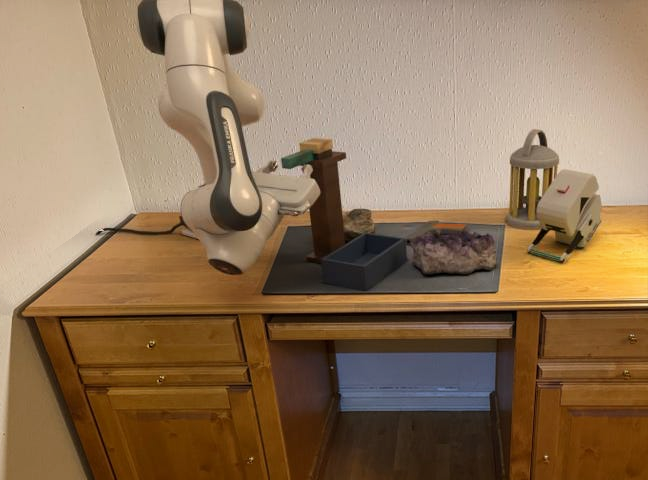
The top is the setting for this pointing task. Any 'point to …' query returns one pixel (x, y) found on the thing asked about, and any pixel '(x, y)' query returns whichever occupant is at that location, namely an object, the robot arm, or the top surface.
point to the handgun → (436, 230)
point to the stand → (326, 207)
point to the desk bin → (364, 261)
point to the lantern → (530, 180)
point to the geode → (454, 253)
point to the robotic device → (569, 212)
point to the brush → (308, 152)
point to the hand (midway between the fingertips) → (291, 164)
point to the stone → (357, 223)
